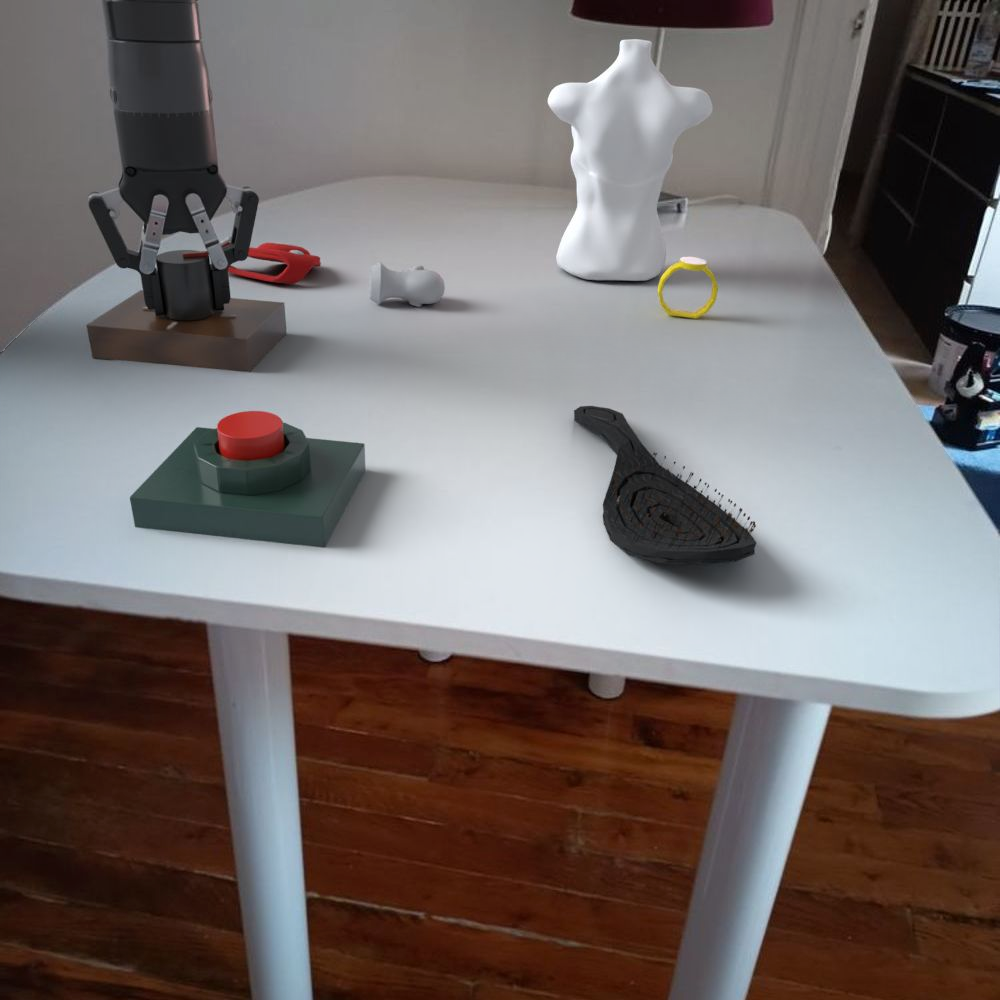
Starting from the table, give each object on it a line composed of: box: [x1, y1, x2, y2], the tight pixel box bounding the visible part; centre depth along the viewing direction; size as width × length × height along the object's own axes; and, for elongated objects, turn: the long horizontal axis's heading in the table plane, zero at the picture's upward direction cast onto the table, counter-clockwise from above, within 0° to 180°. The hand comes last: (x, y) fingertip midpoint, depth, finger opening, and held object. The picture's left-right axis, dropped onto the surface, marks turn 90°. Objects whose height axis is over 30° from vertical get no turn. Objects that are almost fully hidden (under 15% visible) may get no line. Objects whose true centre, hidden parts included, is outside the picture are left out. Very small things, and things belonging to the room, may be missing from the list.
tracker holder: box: [204, 236, 322, 285], centre depth 101 cm, size 12×4×10 cm
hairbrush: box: [573, 405, 757, 565], centre depth 62 cm, size 8×4×25 cm
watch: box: [657, 256, 719, 320], centre depth 95 cm, size 6×3×6 cm, turn 86°
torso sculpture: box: [547, 38, 714, 282], centre depth 103 cm, size 18×10×25 cm, turn 95°
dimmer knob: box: [155, 249, 215, 321], centre depth 80 cm, size 4×4×5 cm
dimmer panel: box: [86, 289, 287, 373], centre depth 82 cm, size 14×10×3 cm
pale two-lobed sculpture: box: [368, 261, 446, 308], centre depth 95 cm, size 4×8×5 cm
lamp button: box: [216, 410, 285, 461], centre depth 58 cm, size 4×4×2 cm
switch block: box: [129, 421, 366, 548], centre depth 59 cm, size 12×10×4 cm
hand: (188, 309), depth 81 cm, fingers closed on dimmer knob, 4 cm apart
